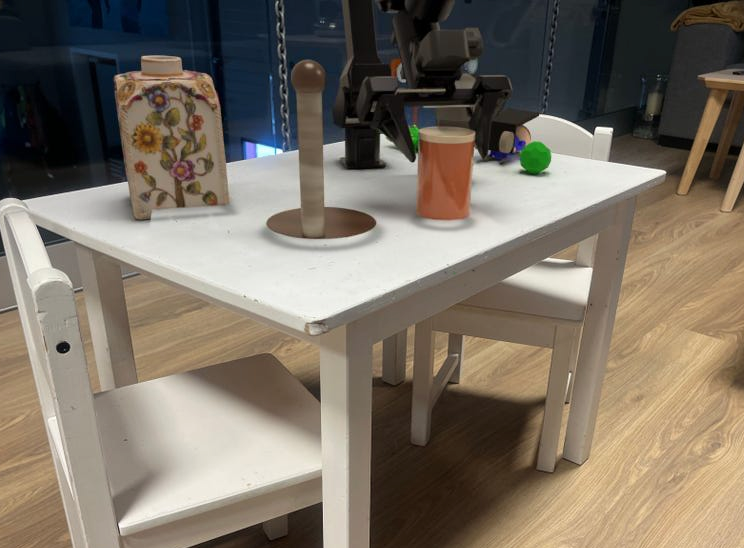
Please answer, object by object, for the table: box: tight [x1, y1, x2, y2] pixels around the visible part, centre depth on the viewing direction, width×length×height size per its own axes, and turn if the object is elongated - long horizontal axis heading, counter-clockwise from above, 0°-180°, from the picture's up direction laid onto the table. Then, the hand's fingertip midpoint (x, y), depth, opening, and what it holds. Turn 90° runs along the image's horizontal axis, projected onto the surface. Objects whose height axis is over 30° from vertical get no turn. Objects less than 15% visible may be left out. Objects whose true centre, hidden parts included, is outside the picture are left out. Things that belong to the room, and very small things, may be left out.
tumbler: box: [415, 125, 476, 221], centre depth 88 cm, size 7×7×11 cm
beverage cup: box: [433, 72, 477, 145], centre depth 105 cm, size 7×7×20 cm
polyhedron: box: [518, 140, 552, 175], centre depth 115 cm, size 5×5×5 cm
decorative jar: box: [113, 55, 230, 221], centre depth 90 cm, size 12×12×18 cm
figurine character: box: [474, 107, 540, 164], centre depth 125 cm, size 7×8×15 cm
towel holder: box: [265, 59, 377, 240], centre depth 81 cm, size 13×13×19 cm
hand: (450, 158), depth 86 cm, fingers open, 9 cm apart
